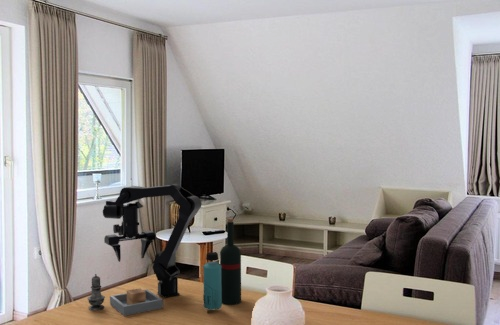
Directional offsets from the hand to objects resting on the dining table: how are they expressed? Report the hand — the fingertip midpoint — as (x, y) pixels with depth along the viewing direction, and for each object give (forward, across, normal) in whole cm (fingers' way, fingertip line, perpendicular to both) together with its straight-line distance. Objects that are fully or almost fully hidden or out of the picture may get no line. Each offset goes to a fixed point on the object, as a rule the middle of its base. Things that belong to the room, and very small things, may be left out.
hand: (131, 259), depth 202 cm
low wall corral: (+12, +5, +18) cm, 22 cm away
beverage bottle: (+12, -15, +37) cm, 42 cm away
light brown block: (+12, +5, +18) cm, 22 cm away
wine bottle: (+12, -26, +31) cm, 42 cm away
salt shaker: (+12, +17, +12) cm, 24 cm away
